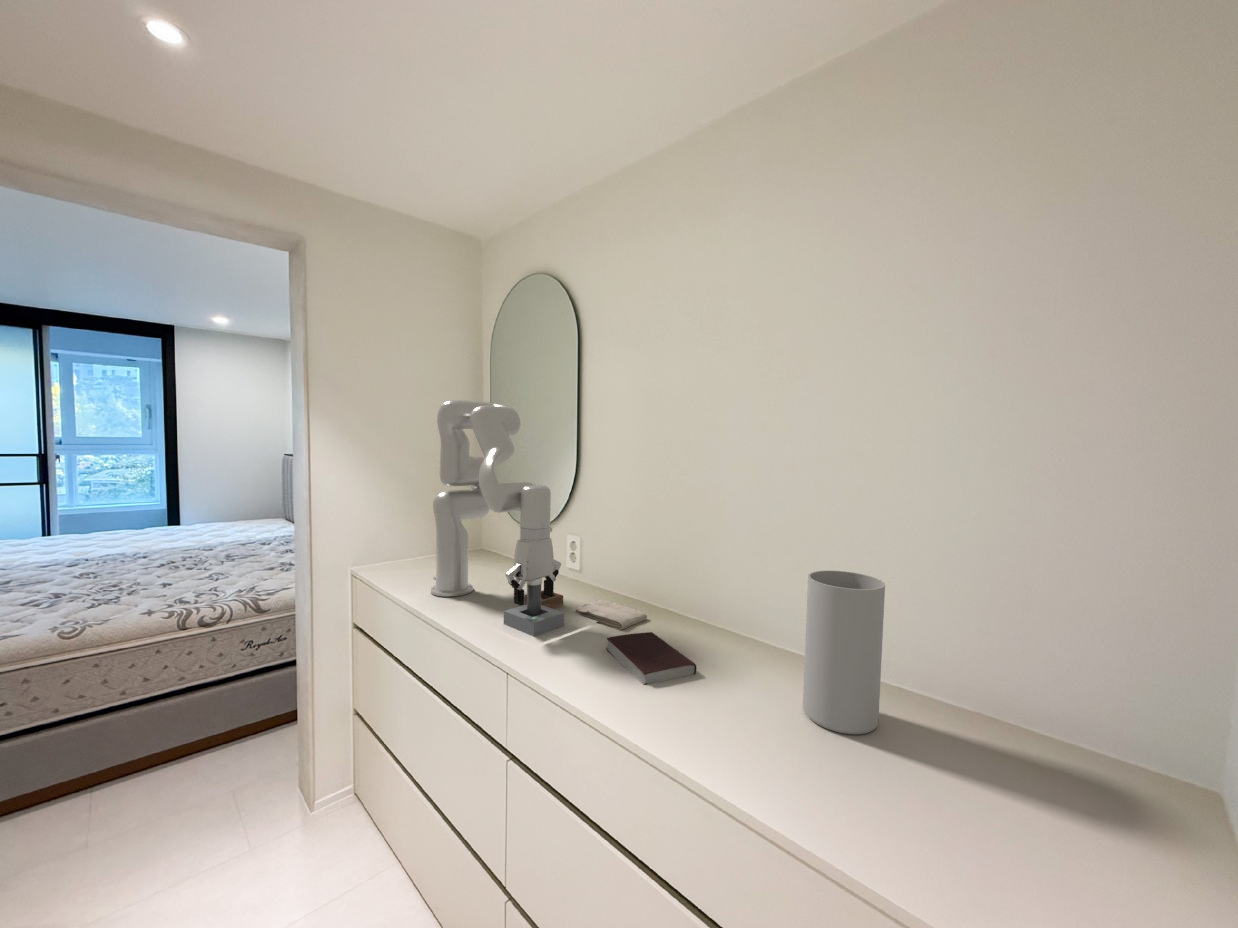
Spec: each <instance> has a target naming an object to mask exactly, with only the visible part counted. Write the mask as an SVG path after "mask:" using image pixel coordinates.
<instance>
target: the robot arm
mask: <svg viewBox="0 0 1238 928" xmlns="http://www.w3.org/2000/svg"><path fill="white" fill-rule="evenodd" d="M436 417H437V419H436V423H437V429H438V434H439V439H440V451H439V452H440V453H439V478H440V479H439V480H440V482H441V483H442V484H443V485H444V486H447V487H467V486H470V489H453V490H451V489H450V490H445V491H442V492H439V493H438V494H437V495H435V497H434V499H433V503H432V506H433V507H432V509H433V514H434V521H435V528H436V531H435V535H436V536H435V537H436V538H435V539H436V541H435V542H436V544H435V545H436V546H435V548H436V549H435V551H436V555H435V556H436V557H435V558H436V559H435V560H436V561H435V563H436V564H435V566H436V567H435V569H436V570H435V575H434V576H433V577H432V578H433V580H434V581H435V585H433V586H431V588H430V594H432V595H433V596H438V597H443V598H444V597H446V598H448V597H458V596H465V595H467V594H469V593H471V592H473V590H474V585H472V583H469V533H468V531H467V529H466V527H465V526H464V525H463V523H462V521H465V520H466V521H467V520H476V519H483V518H485V517H486V516H487V515H488V513H489V512H490V510H491V511H492V512H494V513H499V514H500V513H509V512H510V513H511V512H512V513H513V512H520V514H519V515H520V516H519V517H520V525H519V527H520V528H519V530H520V531H519V532H520V533H519V539H517V542H516V545H515V550H514V556H513V567H512V568H510V569H509V570H508V571H506V573H505V577H506V580H507V581H508V584H509V585H510V586H511V588H513V601H514V602H513V603H514V604H515V605H518V606H523V605H525V589H523V588H524V586H525V585H526V584H527V581H530V580H534V579H538V578H542V579H543V578H545V579H544V580H543V590H544V595H546V596H549V597H553V592H554V588H555V587H554V582H556V580H557V576H558V575H559V573H560V569H561V566H562V563H561V562H560V561H558V560H556V559H554V558H555V557H554V547H553V542H552V541H553V540H552V538H551V533H552V531H553V528H552V527H551V500H552V499H551V494H552V493H551V489H550V488H549V486H546V485H542V484H541V485H540V484H535V483H532V482H525V481H524V482H523V481H521V482H504V483H503V482H501V483H500V482H499V480H498V478H497V475H496V472H495V467H497V466H498V465H501V464H502V463H505V462H506V461H508V460H509V459H510V458H511V457H512V456H513V455H514V453H515V445H514V444H513V442H512V439H511V437H510V436H514V435H516V434H517V433H518V432H519V431H520V430H521V429H520V428H521V417H520V415H519V413H518V411H516V409H515V408H513V407H510V406H507V405H502V404H499V403H494V402H486V401H477V400H474V401H473V400H463V399H459V400H457V399H455V400H447V401H445V402H443V403H442V404H441V405H440V406H439V409H438V411H437V416H436ZM465 430H472V431H473V433H474V435H475V438H476V440H477V443H478V446H479V448H480V449H481V450H480V451H481V453H482V455H483V456H482V455H470V439H469V437H468V435H467V434H466V432H465Z"/></svg>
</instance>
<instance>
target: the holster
mask: <svg viewBox="0 0 1238 928" xmlns="http://www.w3.org/2000/svg"><path fill="white" fill-rule="evenodd" d="M526 604H527V594H524V605H526ZM541 605H543V606H546V607H549V608H552V609H556V608H559V607H563V606H564V595H563V594H559V593H557V592H554V591H553V597H549V596H546V595H544V589H543V590H541Z"/></svg>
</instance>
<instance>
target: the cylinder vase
mask: <svg viewBox="0 0 1238 928" xmlns="http://www.w3.org/2000/svg"><path fill="white" fill-rule="evenodd" d="M806 596H807V597H806V598H807V599H806V617H805V619H806V621H805V640H804V641H805V643H804V663H803V664H804V667H803V670H804V671H803V687H802V688H803V693H802V696H803V697H802V709H803V711H804V714H805V715H806V716H807V717H808V718H809V720H811V721H812V722H814V723H815V724H817V725H819V726H820V727H822V728H824V729H826V730H829V731H832V732H837V733H839V734H846V735H863V734H864V735H865V734H868V733H871V732H872V731H874V730H875V729H876V728H877V727H878V725H879V717H880V697H881V696H880V695H881V680H882V679H881V678H882V657H883V636H884V616H885V613H884V612H885V596H886V584H885V582H884V581H883V580H881V579H879V578H876V577H873V576H870V575H867V574H862V573H857V572H851V571H846V570H845V571H841V570H817V571H813V572H810V573H809V574H808V575H807V594H806Z"/></svg>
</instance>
